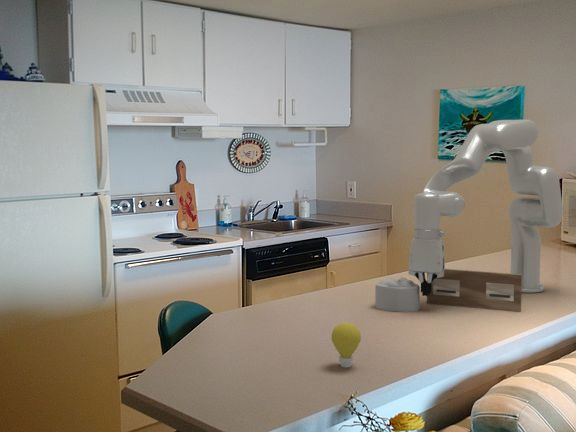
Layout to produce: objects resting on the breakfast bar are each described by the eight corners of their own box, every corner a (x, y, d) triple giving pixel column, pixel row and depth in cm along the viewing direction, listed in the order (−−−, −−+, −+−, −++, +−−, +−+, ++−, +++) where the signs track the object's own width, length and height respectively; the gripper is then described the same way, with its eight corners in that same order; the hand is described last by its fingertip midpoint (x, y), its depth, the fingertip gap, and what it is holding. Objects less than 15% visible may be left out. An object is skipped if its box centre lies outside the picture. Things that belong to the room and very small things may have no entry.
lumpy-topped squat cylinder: (386, 301, 220) (387, 274, 219) (425, 306, 213) (425, 278, 212) (371, 308, 211) (371, 280, 211) (411, 313, 204) (411, 285, 203)
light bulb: (329, 361, 161) (329, 319, 160) (357, 360, 161) (358, 318, 160) (333, 371, 154) (333, 327, 153) (363, 370, 155) (363, 326, 154)
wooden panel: (427, 302, 219) (428, 267, 218) (520, 310, 207) (521, 274, 206) (426, 303, 217) (427, 268, 216) (520, 311, 206) (521, 275, 205)
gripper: (454, 234, 206) (453, 294, 208) (405, 231, 212) (404, 290, 214) (449, 237, 199) (448, 300, 201) (399, 234, 205) (398, 295, 207)
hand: (426, 295), depth 208 cm, fingers closed
